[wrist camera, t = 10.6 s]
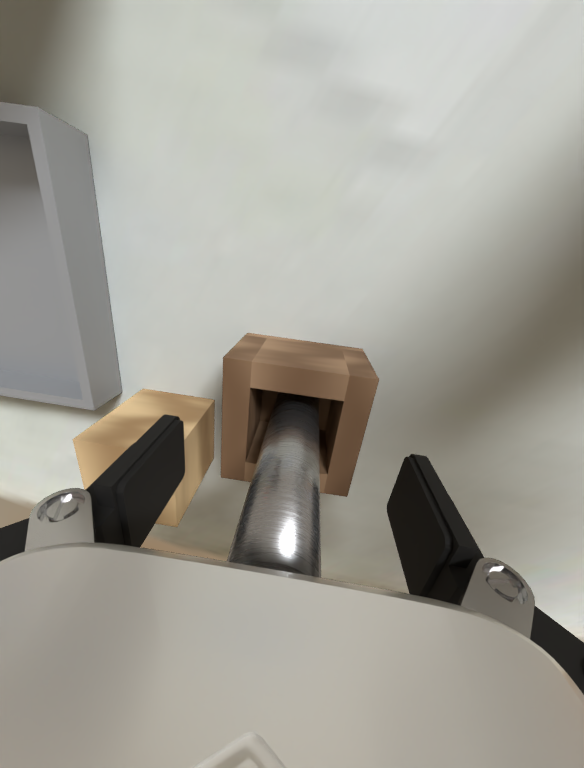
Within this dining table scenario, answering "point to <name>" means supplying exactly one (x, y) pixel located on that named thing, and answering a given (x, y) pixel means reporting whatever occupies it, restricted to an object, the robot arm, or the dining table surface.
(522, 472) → the dining table surface
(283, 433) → the cylinder
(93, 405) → the tray
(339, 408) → the go block
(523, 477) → the dining table surface
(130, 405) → the oak block
